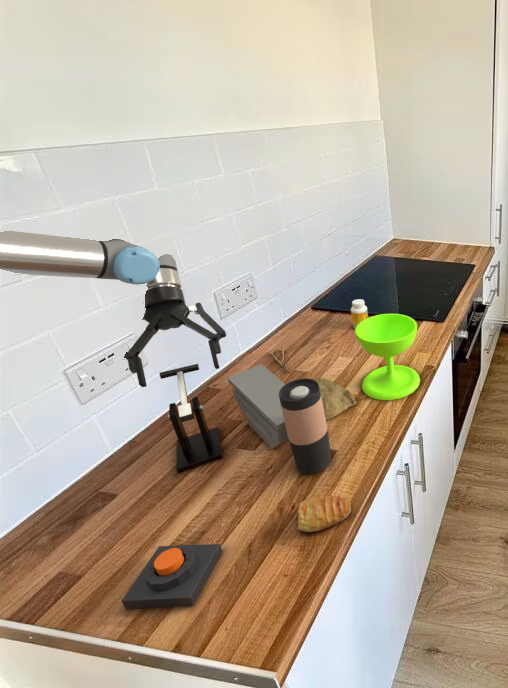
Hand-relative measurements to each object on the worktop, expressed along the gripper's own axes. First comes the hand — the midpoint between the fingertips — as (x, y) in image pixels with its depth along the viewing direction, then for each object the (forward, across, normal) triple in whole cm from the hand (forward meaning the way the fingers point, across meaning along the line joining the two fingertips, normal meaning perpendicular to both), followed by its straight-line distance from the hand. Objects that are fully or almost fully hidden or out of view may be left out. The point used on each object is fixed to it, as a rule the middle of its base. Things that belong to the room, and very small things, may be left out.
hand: (181, 376), depth 97 cm
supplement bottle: (-10, -48, -31) cm, 58 cm away
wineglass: (+15, -45, -6) cm, 48 cm away
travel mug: (+29, -20, +8) cm, 36 cm away
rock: (+18, -29, -2) cm, 34 cm away
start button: (+36, +4, +21) cm, 42 cm away
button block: (+39, +4, +18) cm, 43 cm away
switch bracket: (+17, 0, -4) cm, 17 cm away
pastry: (+40, -18, +19) cm, 47 cm away
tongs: (-3, -22, -24) cm, 33 cm away
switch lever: (+5, 0, +1) cm, 5 cm away
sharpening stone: (+18, -15, -3) cm, 24 cm away
